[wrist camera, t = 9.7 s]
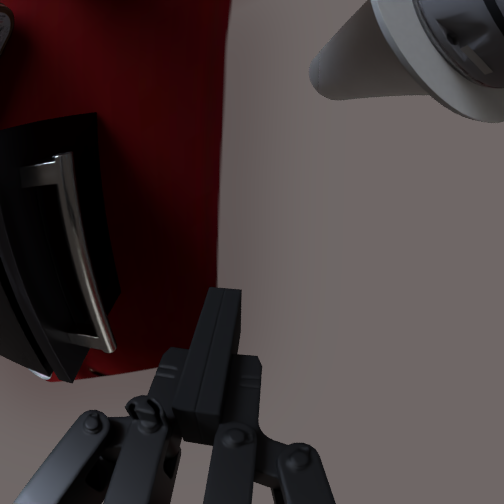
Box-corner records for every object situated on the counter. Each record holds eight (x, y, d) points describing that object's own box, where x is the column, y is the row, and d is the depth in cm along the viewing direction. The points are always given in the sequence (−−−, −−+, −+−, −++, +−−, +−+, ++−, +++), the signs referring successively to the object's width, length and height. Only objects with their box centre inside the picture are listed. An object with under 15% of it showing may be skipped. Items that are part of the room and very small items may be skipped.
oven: (82, 114, 22) (-33, 142, 9) (108, 290, 31) (49, 377, 19) (-6, 139, 22) (-89, 174, 10) (24, 276, 32) (-33, 336, 19)
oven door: (136, 106, 22) (36, 117, 9) (154, 294, 31) (114, 394, 19) (83, 114, 21) (-24, 138, 9) (109, 291, 31) (58, 379, 19)
